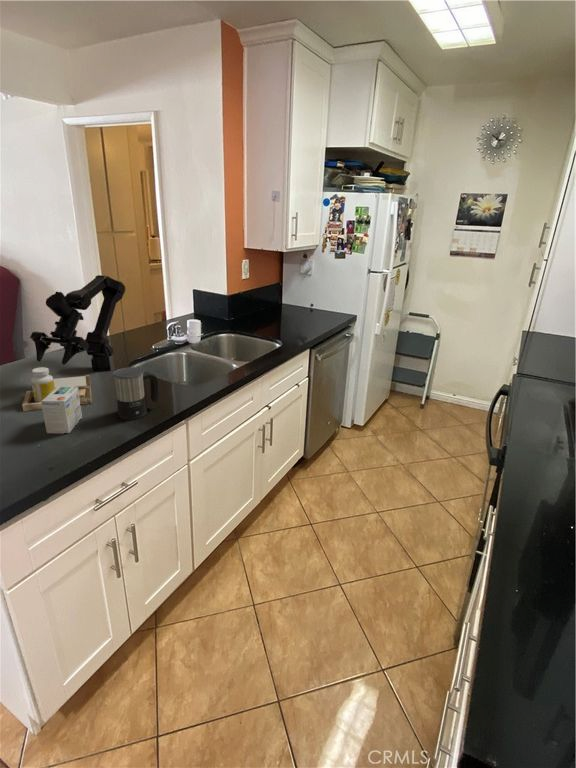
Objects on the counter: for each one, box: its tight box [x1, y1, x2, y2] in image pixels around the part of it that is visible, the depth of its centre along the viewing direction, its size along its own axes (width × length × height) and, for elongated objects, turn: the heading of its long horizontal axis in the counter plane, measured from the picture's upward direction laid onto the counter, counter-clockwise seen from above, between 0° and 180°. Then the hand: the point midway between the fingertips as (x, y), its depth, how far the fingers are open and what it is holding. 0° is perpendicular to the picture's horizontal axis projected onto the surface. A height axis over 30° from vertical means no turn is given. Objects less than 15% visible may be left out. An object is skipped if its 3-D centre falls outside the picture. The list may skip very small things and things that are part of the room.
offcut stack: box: [78, 389, 87, 398], centre depth 144 cm, size 7×6×3 cm
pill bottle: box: [30, 366, 55, 403], centre depth 138 cm, size 6×6×12 cm
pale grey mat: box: [53, 375, 87, 388], centre depth 154 cm, size 13×13×1 cm
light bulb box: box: [41, 387, 83, 434], centre depth 124 cm, size 11×7×11 cm, turn 5°
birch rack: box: [22, 374, 92, 412], centre depth 141 cm, size 20×12×6 cm, turn 114°
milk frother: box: [112, 366, 159, 420], centre depth 137 cm, size 14×16×15 cm
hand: (50, 362), depth 140 cm, fingers open, 9 cm apart
